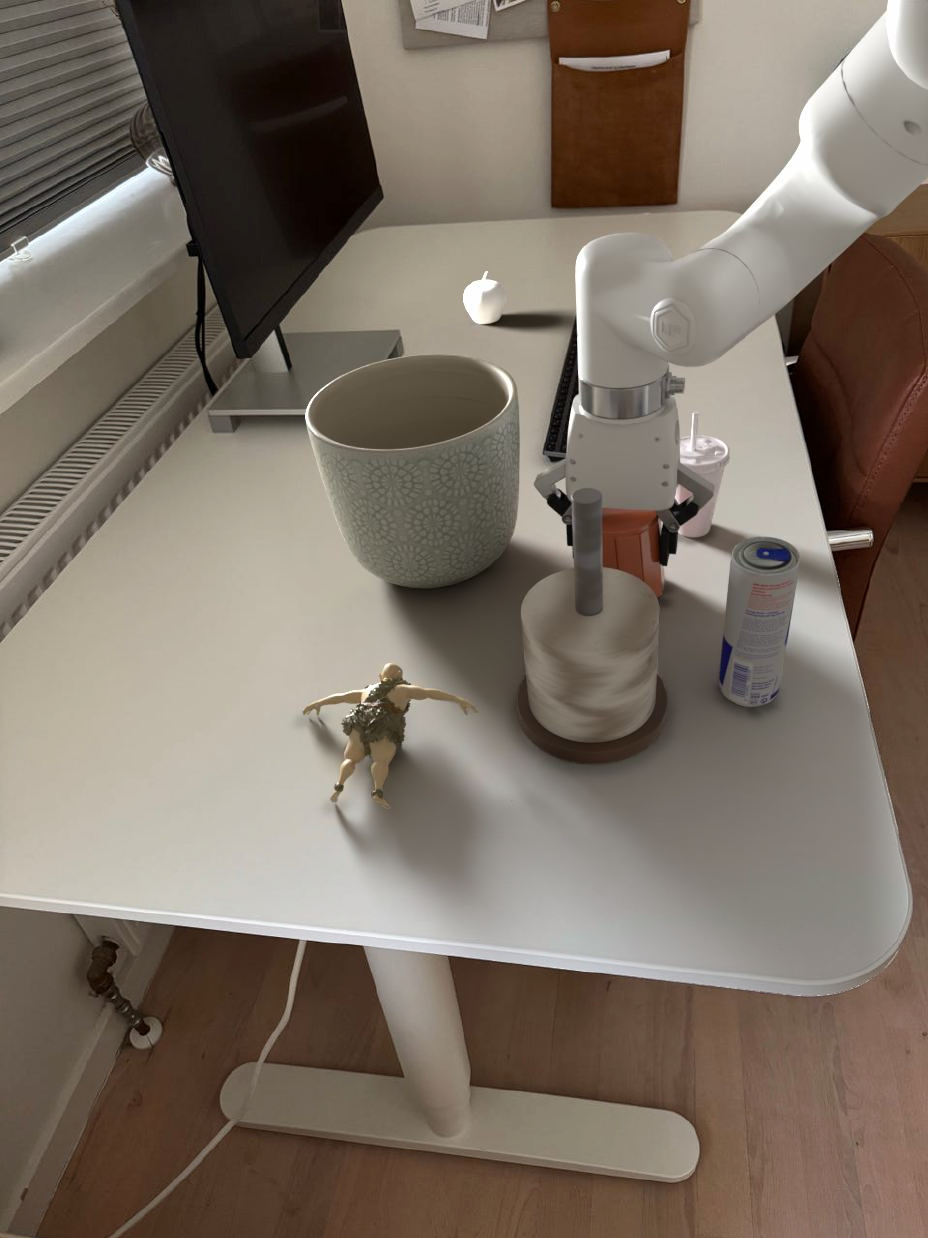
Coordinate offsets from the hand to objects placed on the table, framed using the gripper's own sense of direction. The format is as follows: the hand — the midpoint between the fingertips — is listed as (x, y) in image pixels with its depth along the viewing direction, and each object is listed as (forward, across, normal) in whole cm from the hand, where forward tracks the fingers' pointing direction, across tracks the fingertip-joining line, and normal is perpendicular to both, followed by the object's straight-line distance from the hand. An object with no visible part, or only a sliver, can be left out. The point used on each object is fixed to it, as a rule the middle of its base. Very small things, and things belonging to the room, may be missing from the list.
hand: (621, 553), depth 88 cm
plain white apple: (+5, +33, -69) cm, 77 cm away
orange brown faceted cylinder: (+4, -1, 0) cm, 4 cm away
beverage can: (+5, -13, +13) cm, 19 cm away
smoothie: (+5, -6, -12) cm, 14 cm away
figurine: (+5, +17, +25) cm, 31 cm away
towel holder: (+5, 0, +17) cm, 18 cm away
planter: (+5, +21, -3) cm, 22 cm away
